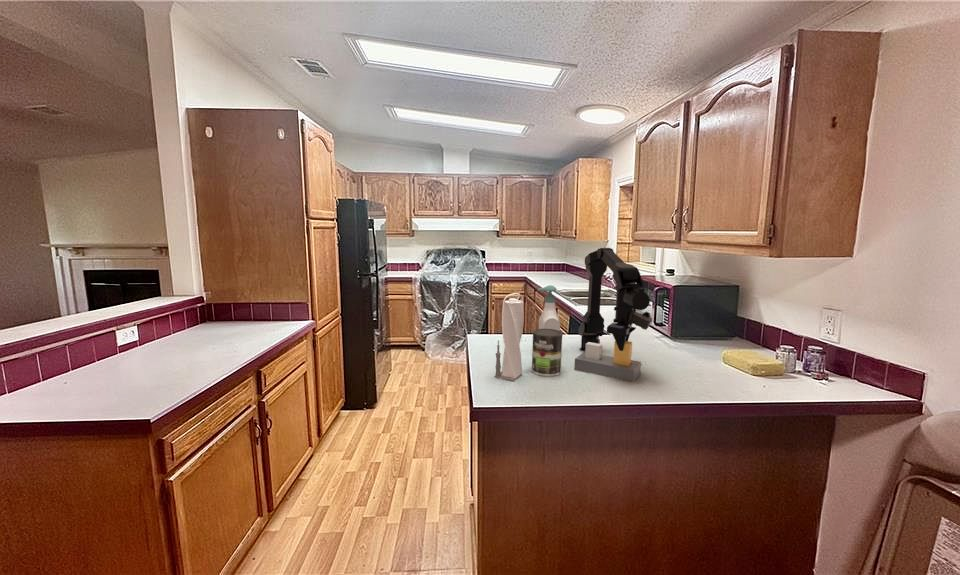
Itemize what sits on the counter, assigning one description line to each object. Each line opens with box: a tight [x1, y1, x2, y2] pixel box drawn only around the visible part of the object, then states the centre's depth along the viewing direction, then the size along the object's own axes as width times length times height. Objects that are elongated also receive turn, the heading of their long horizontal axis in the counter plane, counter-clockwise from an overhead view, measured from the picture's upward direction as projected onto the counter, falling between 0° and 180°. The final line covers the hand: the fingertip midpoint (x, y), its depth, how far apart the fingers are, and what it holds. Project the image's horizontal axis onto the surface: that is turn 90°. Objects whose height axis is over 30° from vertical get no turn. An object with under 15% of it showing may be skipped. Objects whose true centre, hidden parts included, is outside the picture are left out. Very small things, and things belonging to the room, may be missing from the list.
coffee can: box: [531, 328, 564, 377], centre depth 137 cm, size 10×10×14 cm
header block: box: [574, 351, 642, 383], centre depth 137 cm, size 20×10×4 cm, turn 55°
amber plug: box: [613, 340, 633, 366], centre depth 134 cm, size 5×3×8 cm, turn 55°
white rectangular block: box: [584, 342, 603, 361], centre depth 140 cm, size 5×3×8 cm, turn 55°
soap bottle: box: [537, 285, 561, 331], centre depth 156 cm, size 11×8×27 cm
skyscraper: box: [493, 292, 525, 382], centre depth 131 cm, size 8×8×28 cm
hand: (622, 349), depth 134 cm, fingers closed on amber plug, 3 cm apart
